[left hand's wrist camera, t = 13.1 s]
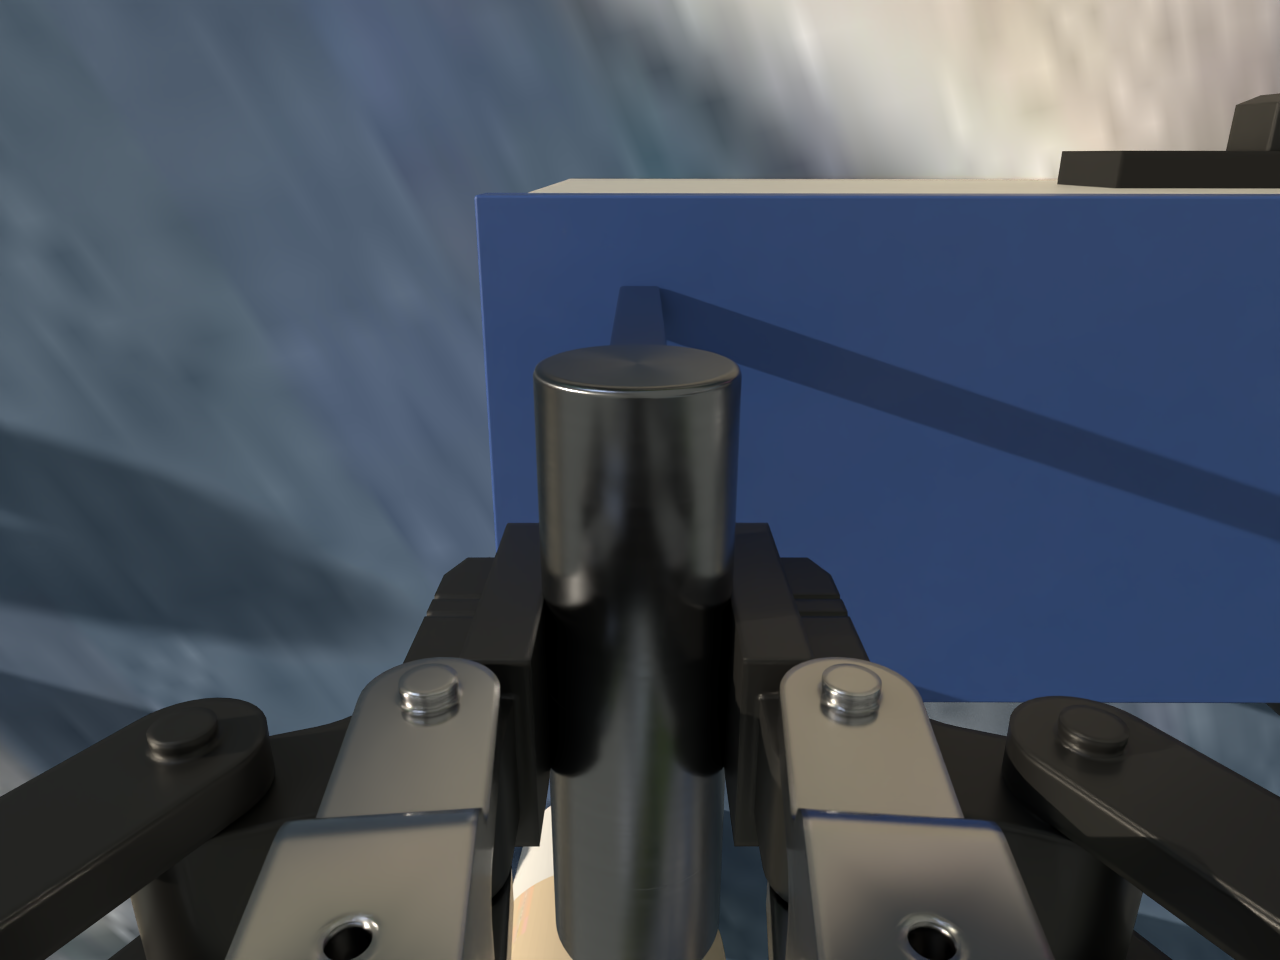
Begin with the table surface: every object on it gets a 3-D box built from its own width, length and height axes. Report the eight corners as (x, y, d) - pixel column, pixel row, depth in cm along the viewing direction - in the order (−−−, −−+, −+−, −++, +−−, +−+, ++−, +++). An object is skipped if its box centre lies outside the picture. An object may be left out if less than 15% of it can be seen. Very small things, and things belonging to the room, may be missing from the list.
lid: (511, 675, 19) (411, 1070, 11) (483, 192, 16) (308, 234, 7) (1276, 678, 19) (1758, 1074, 11) (1418, 193, 16) (2282, 236, 7)
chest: (575, 504, 29) (543, 675, 19) (567, 178, 25) (523, 193, 16) (1066, 504, 29) (1275, 676, 19) (1125, 179, 25) (1415, 194, 16)
